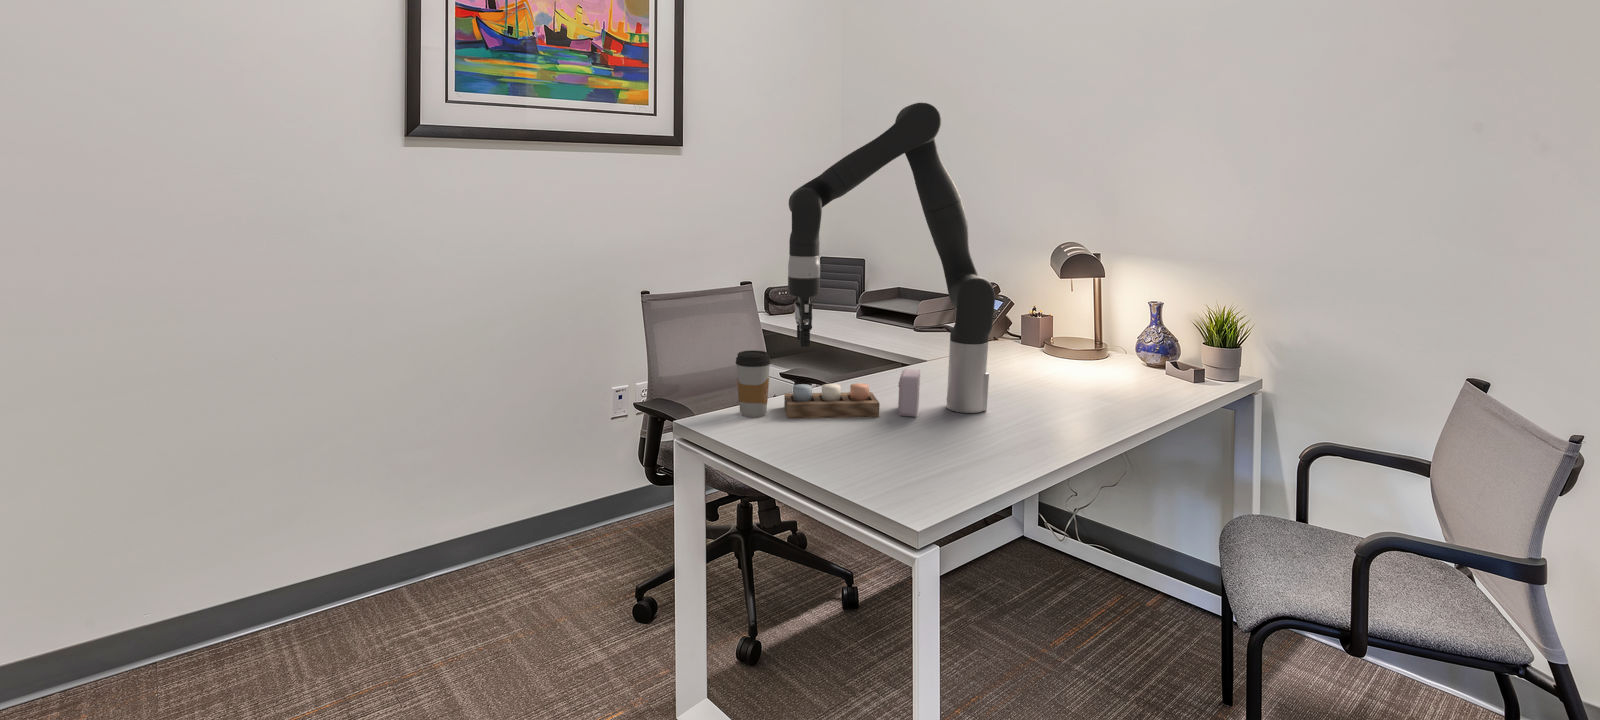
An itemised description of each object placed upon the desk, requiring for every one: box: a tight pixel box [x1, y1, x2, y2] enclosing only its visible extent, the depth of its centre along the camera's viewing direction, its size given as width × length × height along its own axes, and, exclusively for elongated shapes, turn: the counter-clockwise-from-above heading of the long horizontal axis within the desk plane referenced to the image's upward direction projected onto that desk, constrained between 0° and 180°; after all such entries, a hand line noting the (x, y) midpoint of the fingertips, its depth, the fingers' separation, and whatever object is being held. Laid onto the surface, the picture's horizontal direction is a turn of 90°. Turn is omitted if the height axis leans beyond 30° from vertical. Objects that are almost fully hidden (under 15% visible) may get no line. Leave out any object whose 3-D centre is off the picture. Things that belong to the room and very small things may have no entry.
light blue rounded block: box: [792, 383, 813, 402], centre depth 191 cm, size 5×5×3 cm
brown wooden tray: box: [783, 391, 881, 420], centre depth 192 cm, size 22×10×4 cm, turn 96°
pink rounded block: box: [849, 382, 870, 401], centre depth 192 cm, size 5×5×3 cm
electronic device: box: [897, 368, 921, 418], centre depth 192 cm, size 10×5×10 cm, turn 168°
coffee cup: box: [735, 349, 771, 419], centre depth 188 cm, size 8×8×15 cm
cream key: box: [821, 383, 842, 401], centre depth 191 cm, size 5×5×3 cm
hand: (803, 343), depth 188 cm, fingers open, 8 cm apart
